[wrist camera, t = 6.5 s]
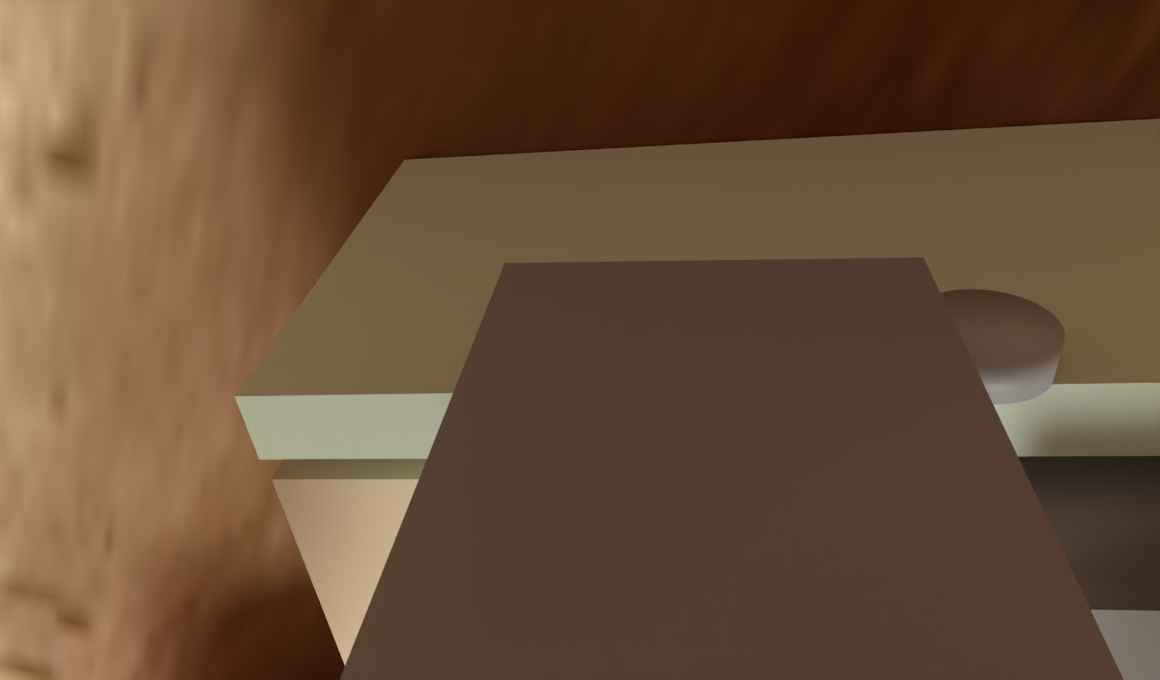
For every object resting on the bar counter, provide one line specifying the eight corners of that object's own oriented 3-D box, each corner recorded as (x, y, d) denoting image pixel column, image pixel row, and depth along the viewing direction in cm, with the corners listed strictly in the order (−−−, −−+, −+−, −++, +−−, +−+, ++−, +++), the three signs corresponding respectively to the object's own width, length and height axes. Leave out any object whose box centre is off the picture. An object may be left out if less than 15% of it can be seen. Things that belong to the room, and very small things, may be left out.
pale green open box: (1272, 83, 17) (1766, 351, 9) (1091, 605, 25) (1269, 974, 18) (399, 134, 19) (207, 378, 12) (499, 595, 28) (427, 913, 20)
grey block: (923, 257, 9) (1203, 851, 4) (867, 607, 12) (990, 1198, 7) (504, 262, 10) (298, 783, 5) (550, 595, 13) (453, 1131, 8)
